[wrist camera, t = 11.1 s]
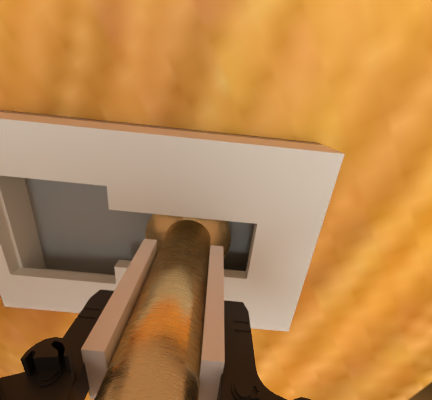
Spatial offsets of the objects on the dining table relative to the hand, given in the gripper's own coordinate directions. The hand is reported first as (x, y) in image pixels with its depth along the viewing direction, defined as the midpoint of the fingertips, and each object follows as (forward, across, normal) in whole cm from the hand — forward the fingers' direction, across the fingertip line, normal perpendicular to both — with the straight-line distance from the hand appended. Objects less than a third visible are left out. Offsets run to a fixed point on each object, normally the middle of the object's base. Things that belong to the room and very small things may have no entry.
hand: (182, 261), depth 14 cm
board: (+5, -3, 0) cm, 6 cm away
